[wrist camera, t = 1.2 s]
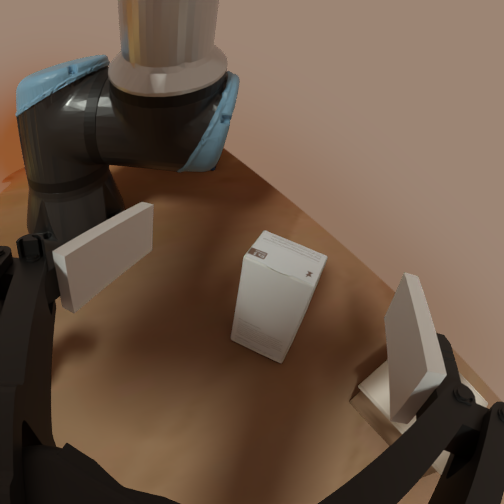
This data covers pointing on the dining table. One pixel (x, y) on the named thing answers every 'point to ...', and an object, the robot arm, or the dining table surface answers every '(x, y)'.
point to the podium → (378, 410)
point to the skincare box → (274, 294)
